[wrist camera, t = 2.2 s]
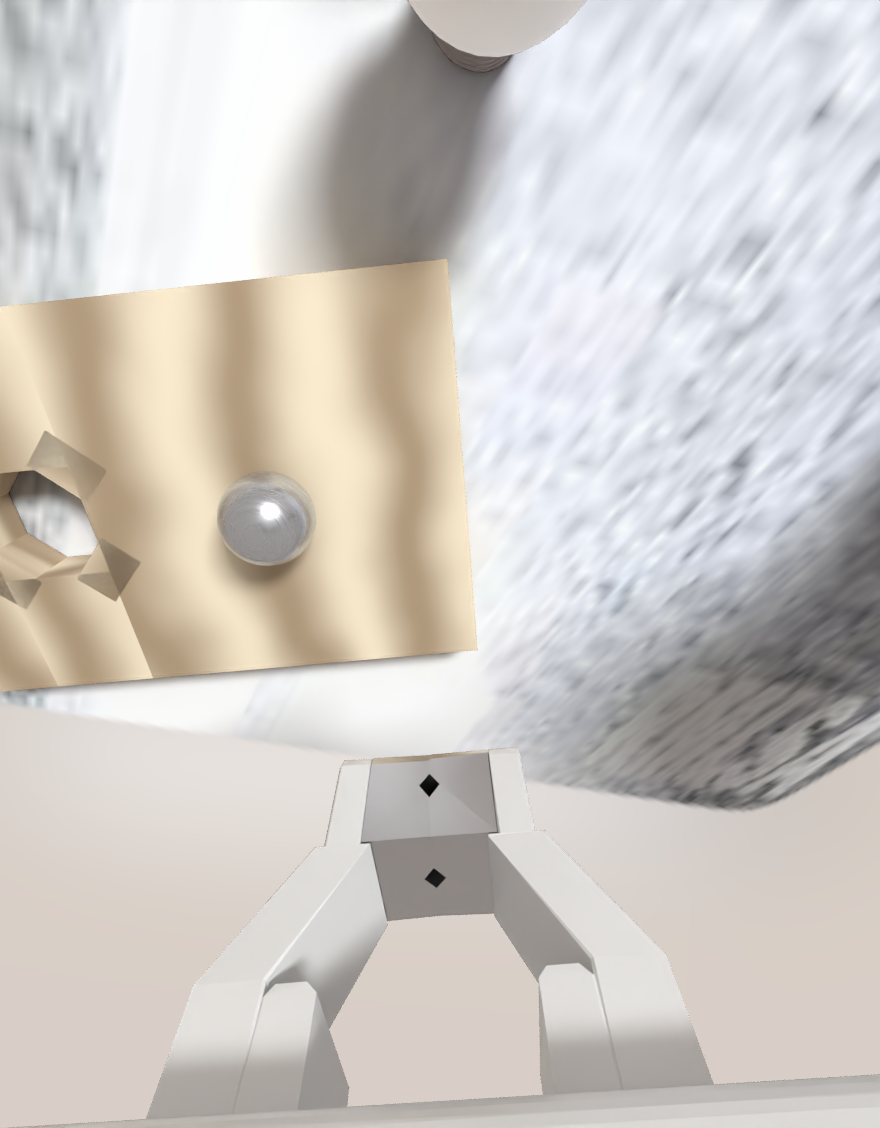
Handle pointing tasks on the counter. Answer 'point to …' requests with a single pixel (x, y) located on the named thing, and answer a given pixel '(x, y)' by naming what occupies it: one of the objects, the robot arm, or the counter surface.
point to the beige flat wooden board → (235, 475)
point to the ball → (266, 518)
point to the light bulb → (492, 27)
